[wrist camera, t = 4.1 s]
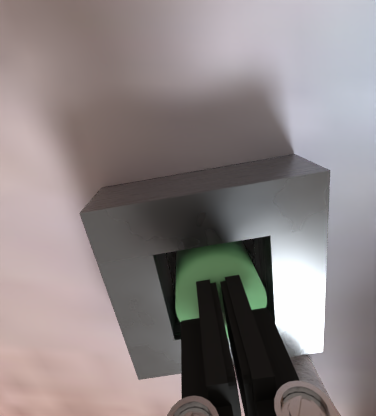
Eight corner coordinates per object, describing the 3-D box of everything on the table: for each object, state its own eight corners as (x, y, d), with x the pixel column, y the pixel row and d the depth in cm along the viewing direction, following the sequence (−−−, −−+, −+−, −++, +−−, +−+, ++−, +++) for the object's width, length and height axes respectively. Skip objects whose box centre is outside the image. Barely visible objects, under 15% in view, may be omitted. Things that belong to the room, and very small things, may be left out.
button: (242, 219, 13) (264, 259, 10) (248, 279, 14) (269, 332, 11) (169, 231, 13) (167, 275, 10) (182, 289, 14) (183, 345, 11)
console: (294, 154, 12) (330, 170, 9) (296, 306, 15) (323, 352, 13) (101, 187, 12) (79, 213, 10) (145, 330, 16) (138, 379, 13)
